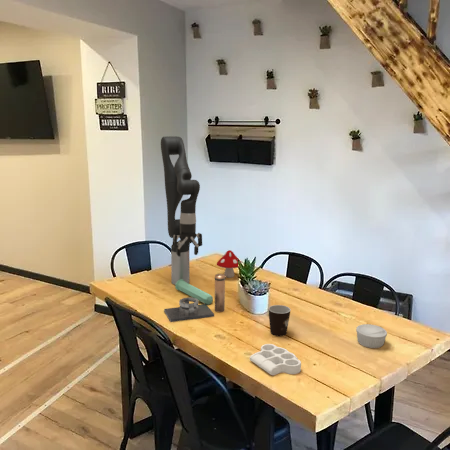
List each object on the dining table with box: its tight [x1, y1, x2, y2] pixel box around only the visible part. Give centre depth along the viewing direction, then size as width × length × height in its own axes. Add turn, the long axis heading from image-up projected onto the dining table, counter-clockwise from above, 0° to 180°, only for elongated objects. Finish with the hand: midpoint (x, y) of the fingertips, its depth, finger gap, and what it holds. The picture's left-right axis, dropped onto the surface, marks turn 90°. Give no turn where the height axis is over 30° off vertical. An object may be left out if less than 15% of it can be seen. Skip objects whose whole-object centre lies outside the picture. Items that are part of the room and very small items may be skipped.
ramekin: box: [355, 323, 388, 349], centre depth 181 cm, size 11×11×5 cm
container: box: [174, 279, 214, 306], centre depth 226 cm, size 6×6×25 cm
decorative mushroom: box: [216, 249, 243, 279], centre depth 254 cm, size 14×14×15 cm
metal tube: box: [214, 273, 226, 313], centre depth 209 cm, size 5×5×16 cm
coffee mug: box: [268, 304, 292, 337], centre depth 188 cm, size 12×9×10 cm
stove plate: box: [163, 296, 215, 323], centre depth 205 cm, size 12×19×6 cm, turn 110°
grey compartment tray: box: [249, 343, 302, 376], centre depth 165 cm, size 3×18×15 cm
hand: (187, 255), depth 228 cm, fingers open, 8 cm apart
